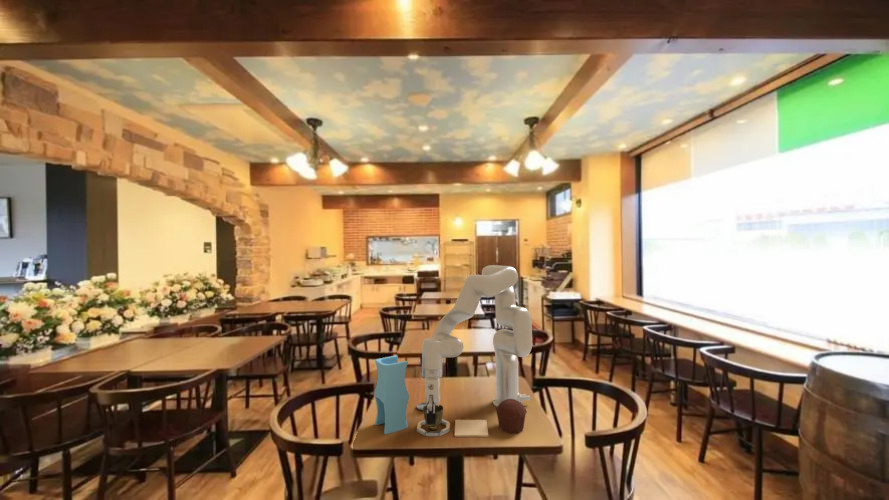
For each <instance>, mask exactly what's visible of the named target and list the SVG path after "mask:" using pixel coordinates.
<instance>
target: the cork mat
mask: <svg viewBox="0 0 889 500" xmlns="http://www.w3.org/2000/svg"><path fill="white" fill-rule="evenodd" d="M454 420H455V423H454V437H457V438H458V437H459V438H460V437H461V438H462V437H464V438H465V437H467V438H470V437H474V438H475V437H478V438H479V437H480V438H482V437H483V438H484V437H485V438H486V437H487V438H488V437H489V431H488V430H489V429H488V423H487V422H488V421H487V419H454Z"/></svg>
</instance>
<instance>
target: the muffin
mask: <svg viewBox="0 0 889 500" xmlns="http://www.w3.org/2000/svg"><path fill="white" fill-rule="evenodd" d="M495 410H496V416H497V422H498V427H499V429H500V430H501V431H502V432H504V433H507V434H518V433H519V434H520V433H521V432H523V430H524V426H525V422H526V421H525V420H526V414H527V412H528V411H527V408H526V407H525V406H524V404H523V402H522V403H520V402H519V401H517V400H515V399H506V400H504V401H502V402H501V403H500V404H499V405H498V407H496V408H495Z"/></svg>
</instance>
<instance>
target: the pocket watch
mask: <svg viewBox="0 0 889 500" xmlns="http://www.w3.org/2000/svg"><path fill="white" fill-rule="evenodd" d="M424 406H426V402H421V403H418V404H416V409H417V410H420V411H423V407H424Z"/></svg>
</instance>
